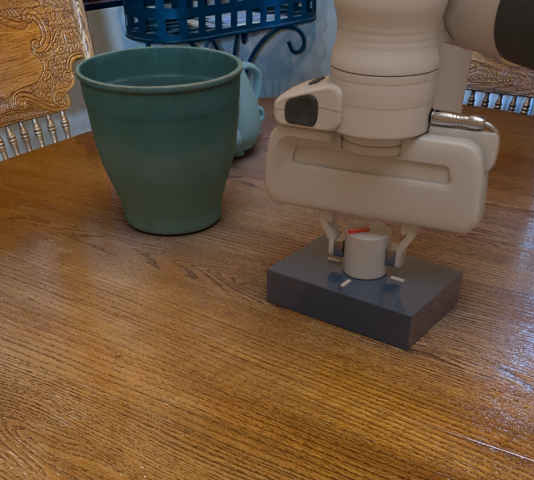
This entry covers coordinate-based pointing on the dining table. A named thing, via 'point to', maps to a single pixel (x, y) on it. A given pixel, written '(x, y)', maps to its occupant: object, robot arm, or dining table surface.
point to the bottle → (452, 78)
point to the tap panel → (365, 294)
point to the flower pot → (165, 131)
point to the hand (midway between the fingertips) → (365, 259)
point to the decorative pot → (249, 110)
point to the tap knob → (366, 249)
